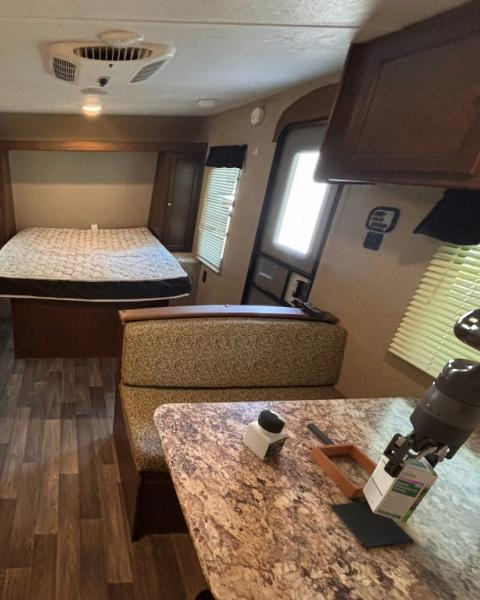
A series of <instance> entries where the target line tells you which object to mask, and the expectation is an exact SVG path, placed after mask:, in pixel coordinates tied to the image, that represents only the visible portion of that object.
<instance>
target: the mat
mask: <svg viewBox="0 0 480 600" xmlns="http://www.w3.org/2000/svg"><path fill="white" fill-rule="evenodd" d="M330 508H331V509H332V510H333V512H335V513H336V514H337V516H338V517H339V518H340V519H341V520H342V522H343V523H344V524H345V525H346V526H347V527H348V529H349V530H350V531H351V532H352V533H353V534H354V536H355V537H356V538H357V539H358V540H359V542H360V543H361V544H362V546H363V547H365V548H366V549H370V548H378V547H384V546H392V545H398V544H404V543H411V542H414V539H413V538H412V537H411V536H410V535H409V534H408V533H407V532H405V530H404V529H403V528H402V527H401V526H400V525H399V524H398V523H397V522H396V520H395V519H391V518H388V517H385V516H382V515H379V514H375V513H373V511H372V509H371V507H370V505H369V503H368V501H367V500H364V501H356V502H348V503H339V504H332V505H330Z"/></svg>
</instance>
